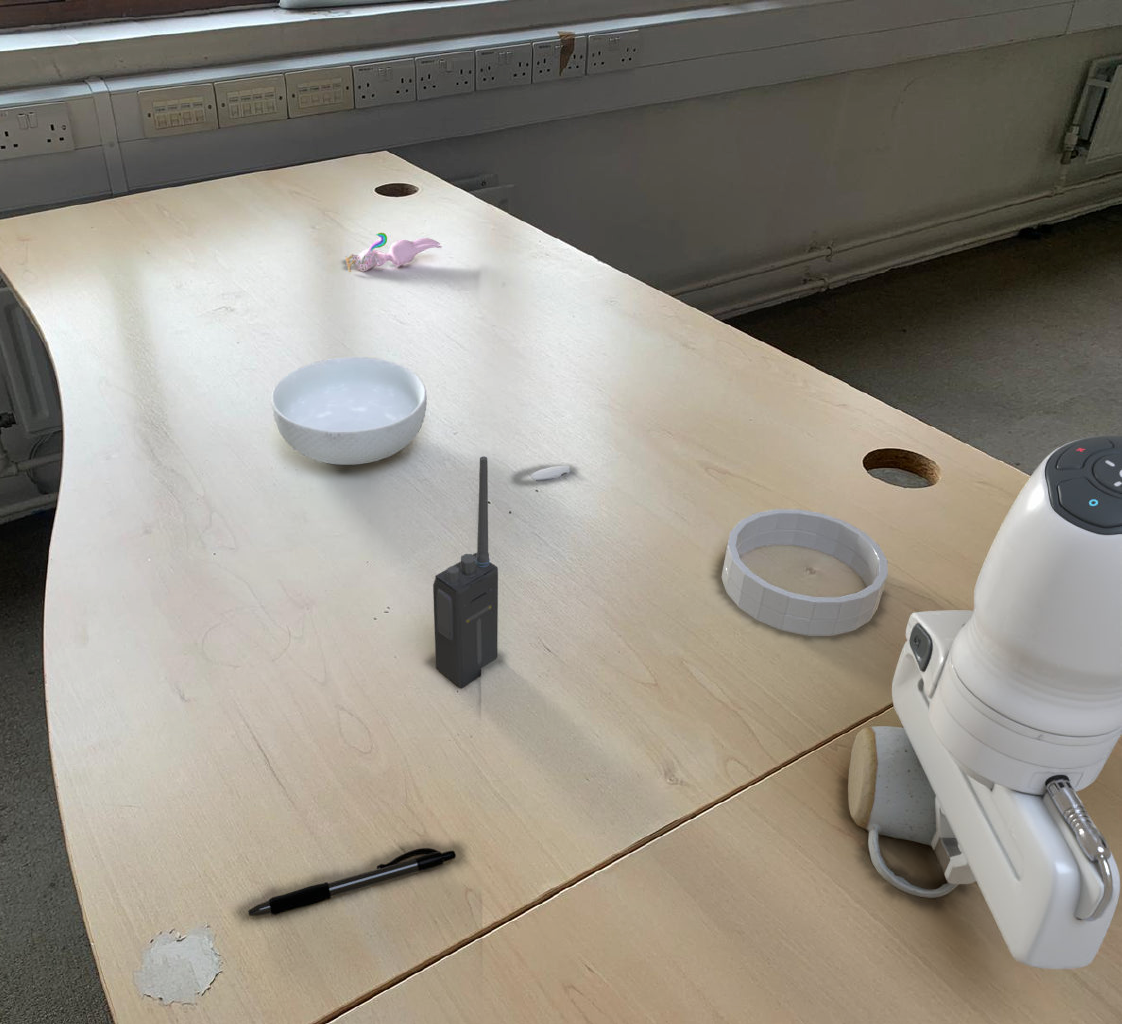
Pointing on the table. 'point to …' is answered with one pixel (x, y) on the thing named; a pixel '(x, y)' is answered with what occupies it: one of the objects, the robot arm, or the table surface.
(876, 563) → the gray band ring
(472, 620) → the walkie-talkie
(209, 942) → the table surface
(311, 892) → the pen
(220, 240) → the table surface
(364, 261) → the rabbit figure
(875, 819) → the ceramic mug
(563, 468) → the white elongated flat piece
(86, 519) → the table surface
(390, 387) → the cereal bowl
